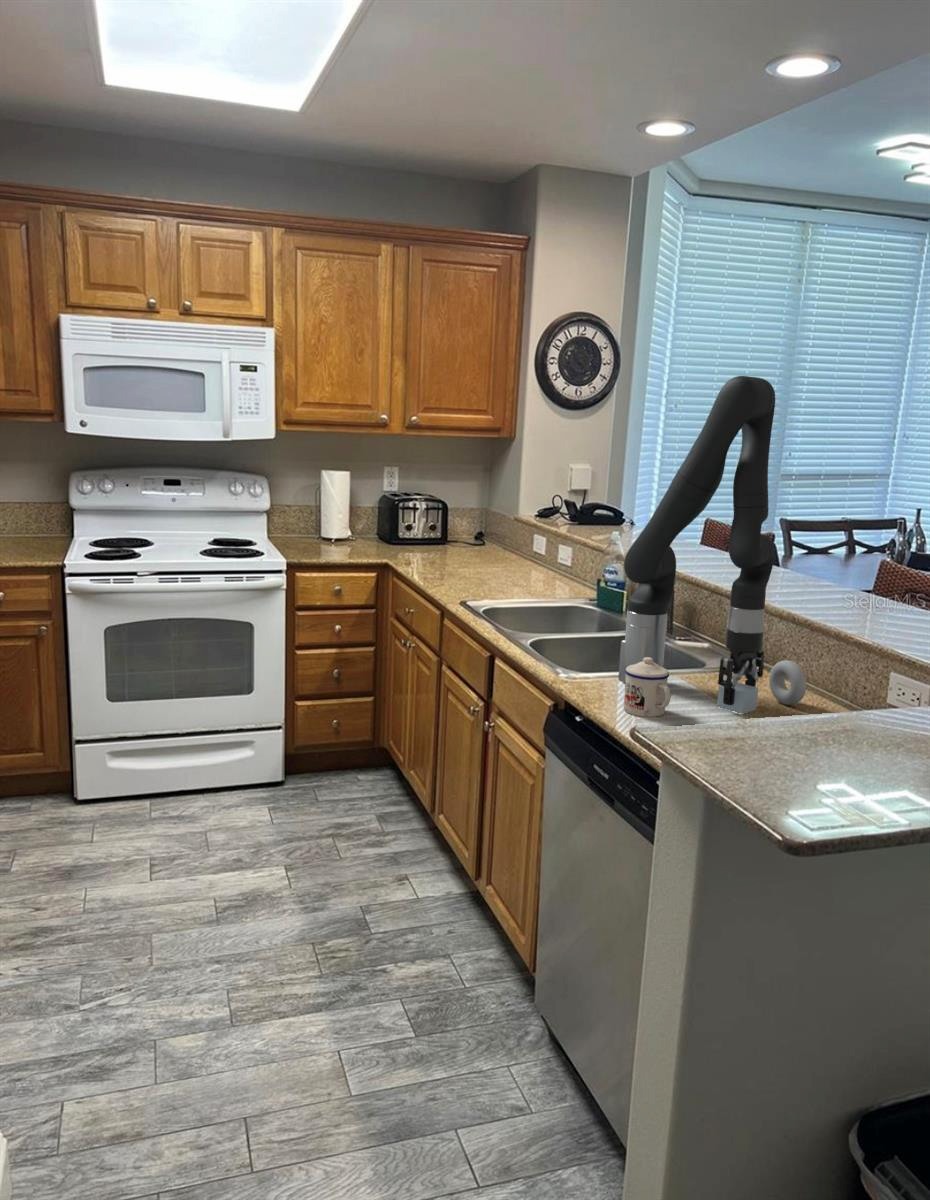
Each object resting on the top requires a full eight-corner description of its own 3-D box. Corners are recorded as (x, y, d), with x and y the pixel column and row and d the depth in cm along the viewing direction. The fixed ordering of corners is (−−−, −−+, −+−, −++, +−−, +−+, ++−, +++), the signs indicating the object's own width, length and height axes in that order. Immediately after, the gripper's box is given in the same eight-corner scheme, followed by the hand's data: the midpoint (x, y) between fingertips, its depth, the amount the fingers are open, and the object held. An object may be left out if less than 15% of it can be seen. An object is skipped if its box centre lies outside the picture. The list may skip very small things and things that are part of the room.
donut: (763, 698, 208) (768, 655, 206) (775, 697, 209) (780, 654, 207) (795, 711, 199) (800, 667, 197) (807, 710, 200) (812, 666, 199)
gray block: (716, 708, 200) (718, 685, 199) (731, 703, 204) (733, 681, 203) (741, 715, 196) (743, 692, 195) (755, 709, 200) (758, 687, 199)
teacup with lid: (613, 707, 197) (617, 654, 194) (646, 702, 201) (651, 651, 199) (649, 724, 186) (654, 669, 184) (684, 719, 191) (689, 665, 188)
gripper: (746, 620, 204) (740, 691, 207) (711, 628, 194) (705, 702, 197) (778, 626, 198) (771, 699, 201) (743, 635, 189) (736, 711, 192)
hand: (738, 700), depth 199 cm, fingers open, 8 cm apart
